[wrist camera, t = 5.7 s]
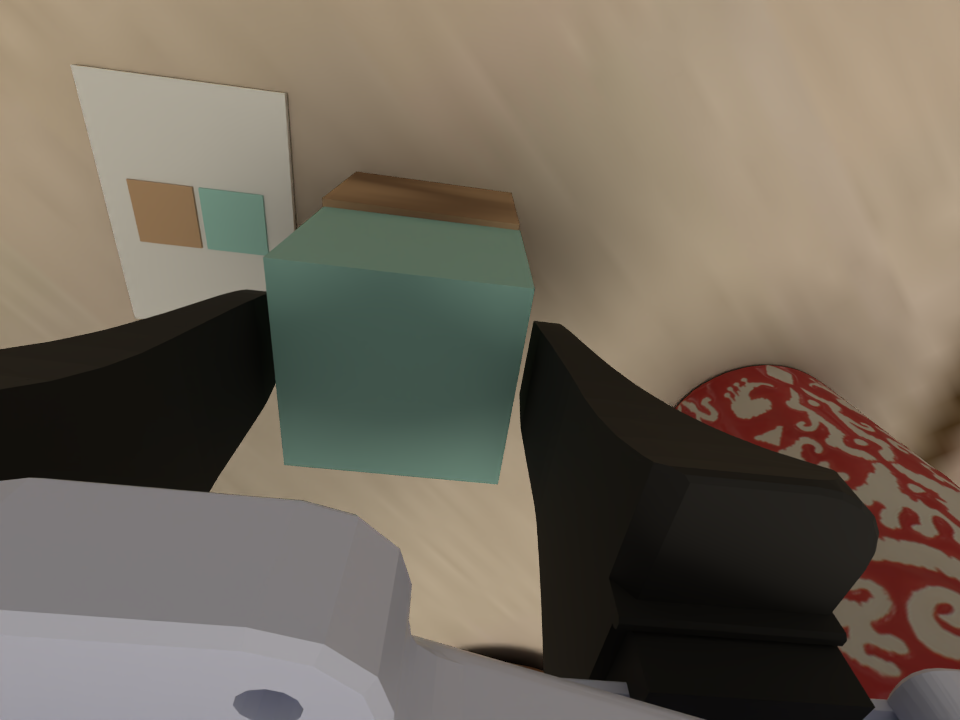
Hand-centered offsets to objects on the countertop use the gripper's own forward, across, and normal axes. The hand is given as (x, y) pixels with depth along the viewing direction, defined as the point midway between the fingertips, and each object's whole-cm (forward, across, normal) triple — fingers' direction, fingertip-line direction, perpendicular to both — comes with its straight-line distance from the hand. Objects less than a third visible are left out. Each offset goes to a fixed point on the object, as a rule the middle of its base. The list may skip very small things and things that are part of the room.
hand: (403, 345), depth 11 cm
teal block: (+2, 0, 0) cm, 3 cm away
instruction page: (+6, +8, 0) cm, 10 cm away
